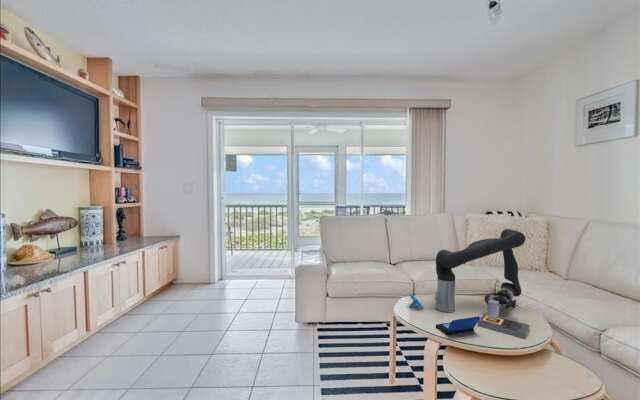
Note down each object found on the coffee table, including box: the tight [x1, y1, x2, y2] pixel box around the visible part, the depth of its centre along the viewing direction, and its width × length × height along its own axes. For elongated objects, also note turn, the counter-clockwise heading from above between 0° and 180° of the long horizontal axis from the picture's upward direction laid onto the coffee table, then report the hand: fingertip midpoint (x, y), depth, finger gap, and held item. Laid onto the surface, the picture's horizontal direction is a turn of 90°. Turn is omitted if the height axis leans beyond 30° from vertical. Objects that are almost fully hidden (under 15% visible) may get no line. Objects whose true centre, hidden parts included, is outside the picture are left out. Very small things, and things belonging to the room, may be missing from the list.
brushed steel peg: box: [487, 299, 500, 323], centre depth 156 cm, size 4×4×12 cm
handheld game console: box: [435, 316, 481, 336], centre depth 150 cm, size 16×13×9 cm
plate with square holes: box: [477, 313, 531, 340], centre depth 154 cm, size 20×12×3 cm, turn 48°
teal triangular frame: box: [409, 293, 424, 310], centre depth 179 cm, size 11×6×10 cm
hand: (497, 304), depth 161 cm, fingers open, 8 cm apart
